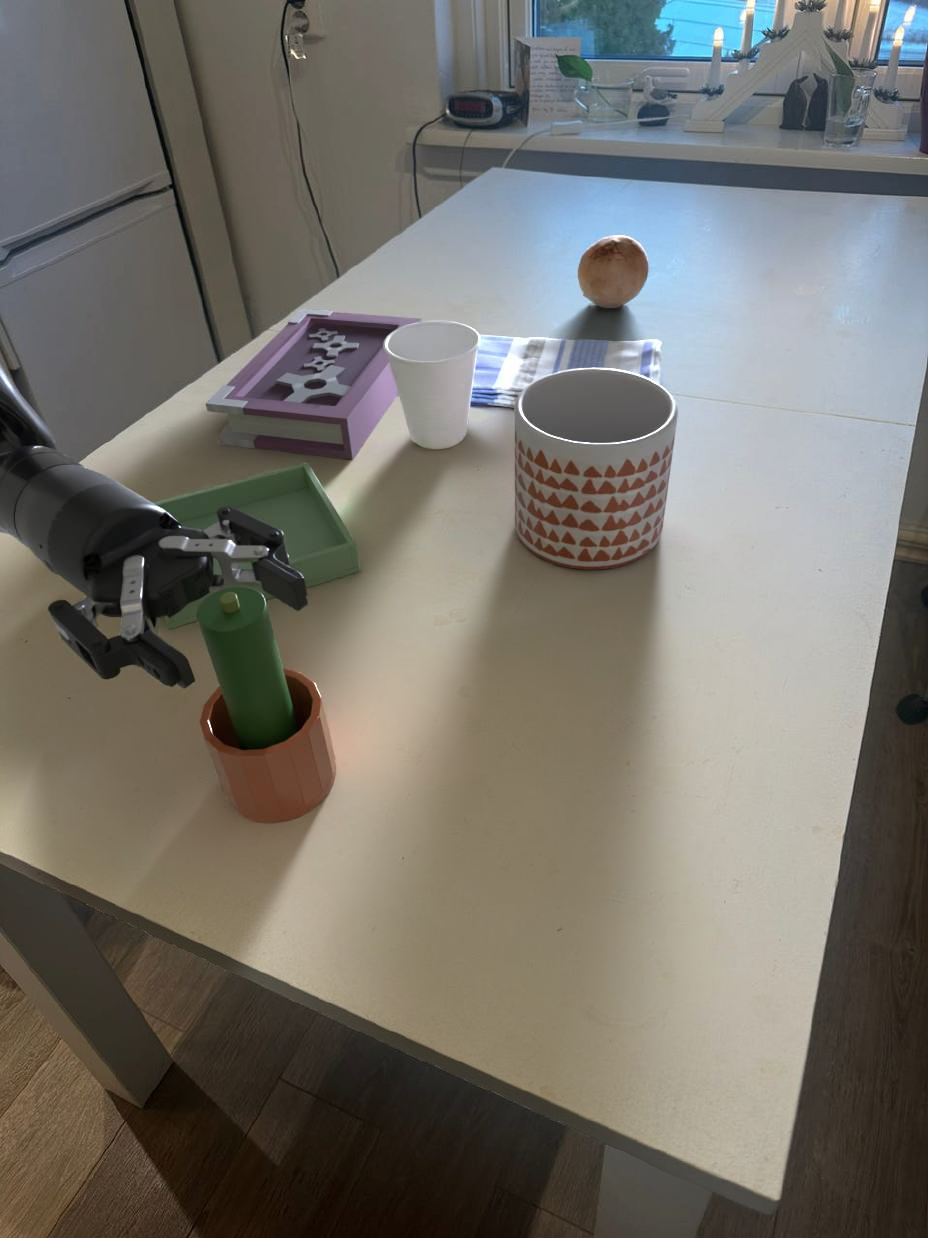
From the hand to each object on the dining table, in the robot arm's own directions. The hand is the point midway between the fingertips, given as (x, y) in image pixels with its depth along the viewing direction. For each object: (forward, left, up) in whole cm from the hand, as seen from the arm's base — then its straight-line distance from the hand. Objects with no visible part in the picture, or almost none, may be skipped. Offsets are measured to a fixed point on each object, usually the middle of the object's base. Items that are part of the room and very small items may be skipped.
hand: (247, 634), depth 51 cm
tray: (+4, +28, -14) cm, 32 cm away
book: (+19, +54, -15) cm, 59 cm away
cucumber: (0, +1, -14) cm, 14 cm away
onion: (+63, +61, -15) cm, 89 cm away
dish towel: (+46, +44, -15) cm, 65 cm away
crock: (0, +1, -14) cm, 14 cm away
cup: (+28, +39, -15) cm, 50 cm away
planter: (+34, +17, -15) cm, 40 cm away
